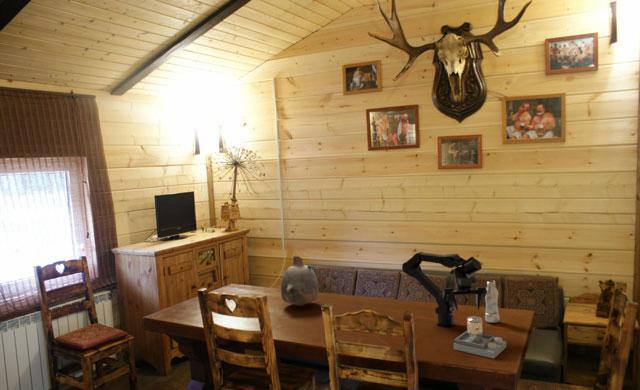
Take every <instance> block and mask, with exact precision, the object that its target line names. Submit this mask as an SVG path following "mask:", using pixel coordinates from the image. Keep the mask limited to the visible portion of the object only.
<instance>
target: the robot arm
mask: <svg viewBox="0 0 640 390" xmlns="http://www.w3.org/2000/svg"><path fill="white" fill-rule="evenodd" d="M422 262H426V263H433V264H440V265H442V266H443V267H446V268H449V269H451V270H450V272H449V274H450V275H453V276H454V279H455V280H454V281H455V285H456V290H454V288H453V287H445V288H443V290H442V289H441V288H440V287H439V286H437V284H435V283H434V282H433V280H432V279H430V278H429V277H428V276H427V275H426V274H425V273H424V272H423V270H422V267H421V266H420V265H421V264H422ZM401 268H402V272H403V273H405V274H406V275H408V276H409V277H410V278H414V279H415V280H416V281H417V282H418V283H419V284H420V285H421V286H422V287H423V288H424V289H425V290H426V291H427V292H429V294H430V295H431V296H432V297H433V298H434V299H435V301H436V304H437V307H436V308H435V309H434V311H435V313H436V314H437V323H436V326H439V327H443V328H450V327H452V326H453V325H455V322H454V321H455V319H454V313H453V312H454V311H455V310H456V311H457V312H458V311H459V309H458V300H457V299H456V296H470V295H471V296H472V295H475V303H476V309H477V310H478V311H479V310H480V308H481V307H480V305H481V301H482V300H483V299H485V296H486V293H487V289H486V288H487V287H486V286H476V288H475V289H472V286H473V285H475V284H476V283H477V281H476V276H472V275H474V274H475V273H477V272H479V271H481V270H482V264H481V261H479V260H478V259H476V258H475V257H474V256H470V257H469V258H468V259H464V258H463V257H461V256H460V255H459V254H458V253H447V254H438V253H428V252H423V251H420V252H416V253H414V255H413V256H412V257H411V258H409V259H408V260H407V261H405V262H403V263H402V265H401ZM468 276H470V277H468Z"/></svg>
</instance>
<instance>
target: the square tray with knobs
mask: <svg viewBox="0 0 640 390" xmlns="http://www.w3.org/2000/svg"><path fill="white" fill-rule="evenodd" d="M482 334H483V342H482V343H472V342H469V341H468V330H467V329H466V330H465V331H464V332H462V334H460V335H459V336H457V337H455V338H454V343H453V350H456V351H458V352H459V351H460V352H463V353H468V354H471V355H477V356H480V357H481V356H482V357H484V358H489V359H495V358H497V357H498V356H499V354H500V353H502V352H503V351H504V350H506V348H507V341H506V340H503V338H502V337H500V336H496V335H491V334H487V333H482Z"/></svg>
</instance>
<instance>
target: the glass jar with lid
mask: <svg viewBox="0 0 640 390" xmlns="http://www.w3.org/2000/svg"><path fill="white" fill-rule="evenodd" d="M466 322H467V323H466V325H467V327H466V328H467V329H466V331H467V330H468V341H469V342H472V343H482V342H483V334H484V333H483V318H482V317H481V316H476V315H471V316H467V317H466Z"/></svg>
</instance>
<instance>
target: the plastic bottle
mask: <svg viewBox="0 0 640 390" xmlns="http://www.w3.org/2000/svg"><path fill="white" fill-rule="evenodd" d="M485 288H486V289H487V293H486V296H485V297H484V299H485V312H484V313H485V314H484V320H485V321H486V322H487V323H490V324H495V323H498V322H499V321H500V313H499V307H498V304H499V303H498V302H499V301H498V300H499V290H498V289H497V287H496V281H495V280H487V281H486V287H485Z"/></svg>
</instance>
